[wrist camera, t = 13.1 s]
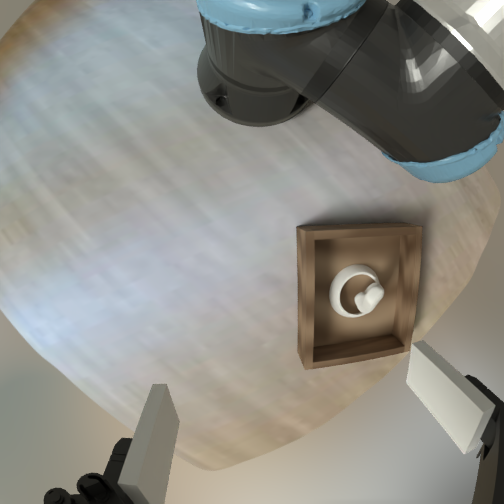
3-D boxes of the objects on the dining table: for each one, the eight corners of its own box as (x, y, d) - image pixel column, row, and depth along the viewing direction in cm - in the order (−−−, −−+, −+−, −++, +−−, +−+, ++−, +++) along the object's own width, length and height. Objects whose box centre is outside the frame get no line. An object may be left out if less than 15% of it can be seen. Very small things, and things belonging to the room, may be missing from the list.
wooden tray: (296, 226, 38) (305, 231, 33) (403, 222, 39) (422, 226, 34) (297, 351, 42) (304, 369, 37) (394, 336, 43) (409, 351, 38)
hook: (348, 231, 33) (402, 261, 30) (349, 262, 43) (389, 285, 40) (313, 288, 32) (368, 321, 29) (323, 305, 43) (363, 330, 40)
